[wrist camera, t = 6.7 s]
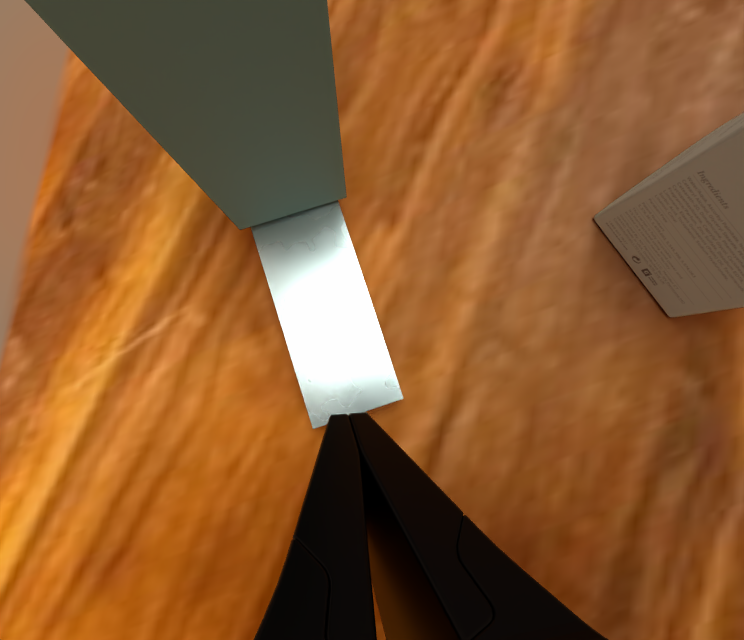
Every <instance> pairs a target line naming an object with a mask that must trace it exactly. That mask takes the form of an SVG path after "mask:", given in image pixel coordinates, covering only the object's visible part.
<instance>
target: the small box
mask: <svg viewBox="0 0 744 640" xmlns="http://www.w3.org/2000/svg"><path fill="white" fill-rule="evenodd" d="M594 220H595V222H596V223H597V224H598V225H599V227H600V228H601V229H602V231H603V232H604V234H605V235H606V236H607V237H608V239H609V240H610V241H611V243H612V244H613V245H614V247H615V248H616V249H617V250H618V252H619V253H620V254H621V256H622V257H623V258H624V260H625V261H626V262H627V263H628V265H629V266H630V267H631V269H632V270H633V271H634V273H635V274H636V275H637V276H638V278H639V279H640V280H641V281H642V283H643V284H644V285H645V287H646V288H647V289H648V290H649V292H650V293H651V294H652V295H653V297H654V298H655V299H656V301H657V302H658V303H659V304H660V306H661V307H662V308H663V310H664V311H665V312H666V314H667V315H668V316H669V317H681V316H688V315H696V314H703V313H709V312H716V311H723V310H729V309H736V308H743V307H744V112H742V113H741V114H739V115H738V116H736V117H735V118H733V119H731V120H730V121H728V122H727V123H725V124H724V125H722V126H720V127H719V128H717V129H716V130H714V131H712V132H711V133H709V134H708V135H707V136H705V137H704V138H702V139H701V140H699V141H698V142H696V143H695V144H693V145H692V146H691V147H689V148H688V149H686V150H685V151H683V152H682V153H681V154H679V155H678V156H676V157H675V158H674V159H672V160H671V161H669V162H668V163H667V164H665V165H664V166H662V167H661V168H660V169H658V170H657V171H655V172H654V173H652V174H651V175H650V176H648V177H647V178H645V179H644V180H643V181H641V182H640V183H638V184H637V185H636V186H634V187H633V188H631V189H630V190H629V191H627V192H626V193H624V194H623V195H622V196H620V197H619V198H618V199H616V200H615V201H613V202H612V203H611V204H609V205H608V206H607V207H605V208H604V209H603V210H602V211H600V212H599V213H598V214H596V215H595V216H594Z"/></svg>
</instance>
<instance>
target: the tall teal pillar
mask: <svg viewBox="0 0 744 640" xmlns="http://www.w3.org/2000/svg"><path fill="white" fill-rule="evenodd" d="M25 1H26V2H27V3H28V4H29V5H30V6H31V7H32V9H33V10H34V11H35V12H36V13H37V14H38V15H39V16H40V17H41V18H42V19H43V20H44V21H45V23H47V25H48V26H49V27H50V28H51V29H52V30H53V31H54V32H55V33H56V34H57V35H58V36H59V37H60V39H61V40H62V41H63V42H64V43H65V44H66V45H67V46H68V47H69V48H70V49H71V50H72V51H73V52H74V53H75V54H76V56H77V57H78V58H79V59H80V60H81V61H82V62H83V63H84V64H85V65H86V66H87V67H88V68H89V69H90V70H91V72H92V73H93V74H94V75H95V76H96V77H97V78H98V79H99V80H100V81H101V82H102V83H103V84H104V85H105V86H106V88H107V89H108V90H109V91H110V92H111V93H112V94H113V95H114V96H115V97H116V98H117V99H118V100H119V101H120V102H121V103H122V105H123V106H124V107H125V108H126V109H127V110H128V111H129V112H130V113H131V114H132V115H133V116H134V117H135V118H136V119H137V121H138V122H139V123H140V124H141V125H142V126H143V127H144V128H145V129H146V130H147V131H148V132H149V133H150V134H151V135H152V137H153V138H154V139H155V140H156V141H157V142H158V143H159V144H160V145H161V146H162V147H163V148H164V149H165V150H166V151H167V152H168V154H169V155H170V156H171V157H172V158H173V159H174V160H175V161H176V162H177V163H178V164H179V165H180V166H181V167H182V168H183V170H184V171H185V172H186V173H187V174H188V175H189V176H190V177H191V178H192V179H193V180H194V181H195V182H196V183H197V184H198V186H199V187H200V188H201V189H202V190H203V191H204V192H205V193H206V194H207V195H208V196H209V197H210V198H211V199H212V200H213V201H214V203H215V204H216V205H217V206H218V207H219V208H220V209H221V210H222V211H223V212H224V213H225V214H226V215H227V216H228V217H229V219H230V220H231V221H232V222H233V223H234V224H235V225H236V226H237V227H238V228H239V229H240V230H242V229H245V228H248V227H251V226H255V225H258V224H261V223H264V222H268V221H271V220H274V219H277V218H281V217H284V216H287V215H290V214H294V213H297V212H300V211H304V210H307V209H310V208H313V207H317V206H320V205H323V204H326V203H330V202H333V201H336V200H339V199H343V198H346V187H345V177H344V167H343V157H342V147H341V137H340V127H339V117H338V107H337V97H336V87H335V77H334V67H333V57H332V46H331V36H330V26H329V16H328V6H327V0H25Z"/></svg>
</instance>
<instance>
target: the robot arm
mask: <svg viewBox="0 0 744 640" xmlns="http://www.w3.org/2000/svg"><path fill="white" fill-rule="evenodd" d="M371 580H372V581H371ZM372 584H373V588H374V592H375V596H376V600H377V604H378V608H379V612H380V616H381V620H382V624H383V628H384V632H385V636H386V640H608V639H607V638H605V637H603V636H602V635H601V634H599V633H598V632H596V631H595V630H594V629H592V628H591V627H590V626H588V625H587V624H586V623H585V622H584V621H582V620H581V619H580V618H579V617H578V616H576V615H575V614H574V613H573V612H572V611H571V610H569V609H568V608H567V607H566V606H565V605H564V604H562V603H561V602H560V601H559V600H558V599H557V598H555V597H554V596H553V595H552V594H551V593H550V592H548V591H547V590H546V589H545V588H544V587H543V586H541V585H540V584H539V583H538V582H537V581H536V580H534V579H533V578H532V577H531V576H530V575H529V574H527V573H526V572H525V571H524V570H523V569H522V568H520V567H519V566H518V565H517V564H516V563H515V562H514V561H513V560H512V559H510V558H509V557H508V556H507V555H506V554H505V553H504V552H503V551H502V550H500V549H499V548H498V547H497V546H496V545H495V544H494V543H493V542H492V541H491V540H490V539H489V538H488V537H487V536H486V535H485V534H484V533H483V532H482V531H481V530H480V529H479V528H478V527H477V526H476V525H475V524H474V523H473V522H472V521H471V520H470V519H469V518H468V517H467V516H466V515H464V516H463V512H462V511H461V510H460V509H459V508H458V507H457V506H456V504H455V503H454V502H453V501H452V500H451V499H450V498H449V497H448V496H447V495H446V494H445V493H444V492H443V491H442V490H441V489H440V488H439V487H438V486H437V485H436V484H435V483H434V482H433V481H432V480H431V479H430V478H429V477H428V476H427V474H426V473H425V472H424V471H423V470H422V469H421V468H420V467H419V466H418V465H417V464H416V463H415V462H414V461H413V460H412V459H411V458H410V457H409V456H408V455H407V454H406V453H405V452H404V451H403V450H402V449H401V448H400V447H399V445H398V444H397V443H396V442H395V441H394V440H393V439H392V438H391V437H390V436H389V435H388V434H387V433H386V432H385V431H384V430H383V429H382V428H381V427H380V426H379V425H378V424H377V423H376V422H375V421H374V420H373V419H372V418H371V417H370V415H369V414H368V413H366V412H354V413H350V414H349V415H348V414H346V413H340V414H331V415H330V417H329V420H328V423H327V426H326V430H325V433H324V436H323V439H322V443H321V446H320V449H319V453H318V456H317V459H316V462H315V466H314V469H313V472H312V476H311V479H310V482H309V485H308V489H307V492H306V495H305V499H304V502H303V505H302V508H301V512H300V515H299V518H298V522H297V525H296V528H295V531H294V535H293V540H292V541H291V544H290V547H289V550H288V554H287V557H286V560H285V563H284V566H283V569H282V572H281V574H280V577H279V580H278V583H277V586H276V588H275V591H274V593H273V596H272V598H271V601H270V603H269V605H268V608H267V610H266V613H265V615H264V618H263V620H262V622H261V624H260V626H259V629H258V631H257V633H256V635H255V638H254V640H377V637H376V626H375V615H374V604H373V593H372Z"/></svg>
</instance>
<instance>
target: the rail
mask: <svg viewBox="0 0 744 640" xmlns="http://www.w3.org/2000/svg"><path fill="white" fill-rule="evenodd" d="M251 230H252V233H253V236H254V239H255V242H256V246H257V249H258V252H259V255H260V259H261V262H262V265H263V268H264V272H265V275H266V278H267V281H268V285H269V288H270V291H271V294H272V298H273V301H274V304H275V307H276V310H277V314H278V317H279V320H280V323H281V327H282V330H283V333H284V336H285V340H286V343H287V346H288V349H289V353H290V356H291V359H292V362H293V366H294V369H295V372H296V375H297V378H298V382H299V385H300V388H301V391H302V395H303V398H304V401H305V404H306V408H307V411H308V414H309V417H310V421H311V424H312V427H313V429H315V428H318V427H320V426H323V425H326V424H327V423H328V420H329V417H330V415H331V414H340V413H346V414H348V415H349V414H350V413H354V412H365V411H368V410H371V409H374V408H377V407H380V406H383V405H386V404H389V403H392V402H395V401H398V400H401V399H403V396H402V393H401V390H400V387H399V384H398V381H397V378H396V375H395V372H394V369H393V366H392V363H391V360H390V357H389V354H388V351H387V348H386V345H385V341H384V338H383V335H382V332H381V329H380V326H379V323H378V320H377V317H376V314H375V311H374V308H373V305H372V302H371V299H370V296H369V293H368V290H367V287H366V284H365V281H364V278H363V275H362V272H361V269H360V266H359V263H358V260H357V257H356V254H355V251H354V248H353V245H352V242H351V239H350V236H349V233H348V230H347V227H346V224H345V221H344V218H343V215H342V212H341V209H340V206H339V203H338V200H336V201H333V202H330V203H326V204H323V205H320V206H317V207H313V208H310V209H307V210H304V211H300V212H297V213H294V214H290V215H287V216H284V217H281V218H277V219H274V220H271V221H268V222H264V223H261V224H258V225H255V226H251Z"/></svg>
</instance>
